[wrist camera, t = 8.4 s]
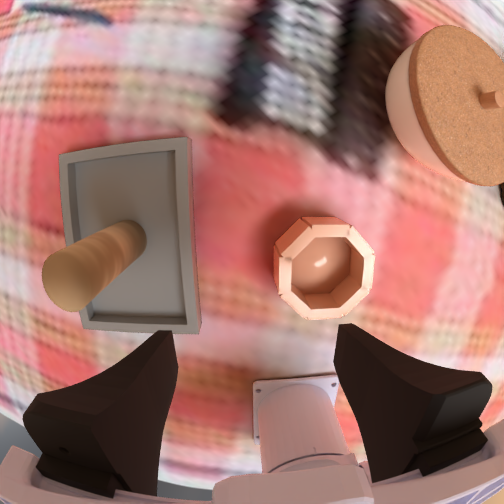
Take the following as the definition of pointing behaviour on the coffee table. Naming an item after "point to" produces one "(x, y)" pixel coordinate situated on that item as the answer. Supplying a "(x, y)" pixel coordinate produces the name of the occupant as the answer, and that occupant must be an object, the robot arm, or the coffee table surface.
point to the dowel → (91, 264)
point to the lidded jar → (450, 105)
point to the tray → (150, 219)
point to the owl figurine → (503, 194)
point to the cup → (322, 267)
